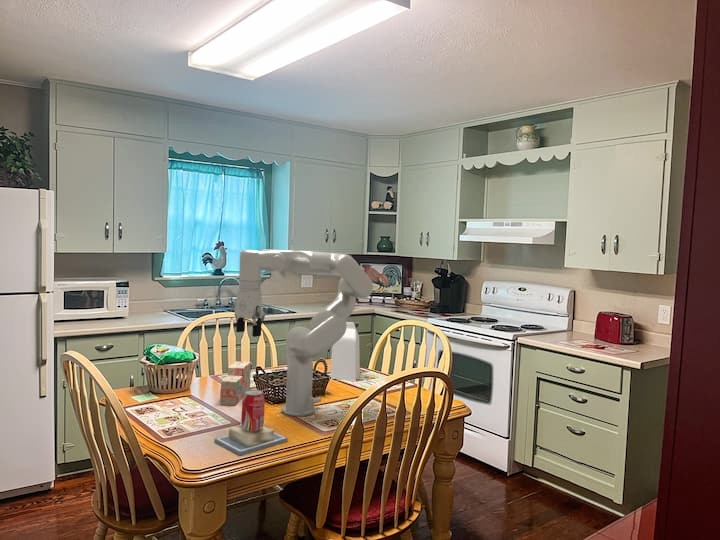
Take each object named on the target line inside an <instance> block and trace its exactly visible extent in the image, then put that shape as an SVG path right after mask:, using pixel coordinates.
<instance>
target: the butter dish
mask: <svg viewBox="0 0 720 540" xmlns="http://www.w3.org/2000/svg"><path fill="white" fill-rule="evenodd" d="M288 440H289V439H288V437H286V436H283V435H281V434H279V433H277V432H275V430H274V429H273V428H270V427H268V426H266V425H263V428H262V429H260V430H259V431H257V432H247V431H245V430H244V429H243V428H242V425H237V426H233V427H230V428H228V435H224V436H220V437H217V438H214V440H213V442H214V443H215V444H218V445H219V446H222V447H223V448H224V449H227V450H228V451H230V452H232V453H234V454H236V455H238V456H244V455H247V454H250V453H254V452H257V451H261V450H263V449H266V448H269V447H274V446H276V445H279V444H282V443H283V444H284V443H286V442H289V441H288Z"/></svg>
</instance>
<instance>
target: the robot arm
mask: <svg viewBox="0 0 720 540" xmlns="http://www.w3.org/2000/svg"><path fill="white" fill-rule="evenodd" d="M239 253H240V254H239V272H238V273H239V275H238V288H237V292H236V299H235V306H234V307H233V310H234V316H235V321H236V322H235V324H236V326H235V327H236V328H235V330H236V333H244V332H245V329H246V320H252V323H253V325H252V333H251V335H252V337H254V338H255V337H261V336H262V325H264V324H263V323H264V321H265V317H266V313H265V311H264V310H263V301H262V300H263V297H262V290H261V289H262V271H268V272H279V271H286V272H292V273H297V274H302V275H318V276H319V275H320V276H321V275H322V276H335V277H341V278H340V280H339V281H338V286H337V287H338V290H337V291H338V292H337V296H336V297H335V298H334V300H332V301H331V302H330V303H329V304H328V305H327V306H325V307H324V308H322V309H320V310H319V311H318V312H317V313H316V314H315V315H313V316H312V318H311V319H310V328H307V327H304V326H302V325H301V326H295V327H293V328H291V329H290V330H289V331H288V332H287V335H286V337H285V347H286V356H287V357H286V359H287V362H286V363H287V364H286V365H287V367H286V386H285V387H286V392H285V404H284V405H282V407H281V412H282V413H283V414H285V415H287V416H292V417H305V416H306V417H307V416H310V415H313V414H314V413H315V412H316V407H315V404H317V403H321V402H322V398H321V397H319V396H317V397H314V396H313V377H314V376H313V373H314V372H313V371H314V360H313V359H314V358H316V357H318V356H321V355H322V354H323V353H324V352H326V351H327V350H328V349H330V348H332V346H333V344H335V343H336V342H337V341H338V340H340V339H341V338H342V337H343V335H344V334H345V332H346V328H347V323H346V322H347V319H348V318H349V317H350V316H351V315H352V313H354V310H355V306H356V301H357V299H366V298H368V297H369V296H371V294H372V292H373V291H374V285H373V281H372V279H371V278H370V277H369V275H368V274H367V273H366V272H365V270H364V269H363V267H361V266H360V264H358V262H357V261H356V260H355V259H354V257H352V256H351V255H350V254H347V253H337V252H326V251H312V250H282V249H267V248H263V249H260V250H258V249H257V250H256V249H242V250H241V251H240V252H239ZM245 319H246V320H245Z"/></svg>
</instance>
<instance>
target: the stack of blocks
mask: <svg viewBox="0 0 720 540" xmlns="http://www.w3.org/2000/svg"><path fill="white" fill-rule="evenodd" d="M251 364H252V362H251V361H245V360H244V361H243V360H242V361H241V360H240V361H239V360H236V361H234V362H233V363H232V364H231V365H229V366H228V368H227V375H226V376H225V377H223V379H222V380H221V381H220V395H219V396H220V399H219V404H220V405H222V404H223V406H224V405H225V406H237V404H238V403H240V402H241V401H242V398H243V396H244V394H245V393H244V392H245V391H246V390H251V374H252V373H251V372H252V371H251V369H252V365H251Z"/></svg>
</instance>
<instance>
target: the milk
mask: <svg viewBox="0 0 720 540" xmlns="http://www.w3.org/2000/svg"><path fill="white" fill-rule="evenodd" d="M346 323H347V328H346V332H345V334H344V335H343V337H342V338H341V339H340V340H338V341H337V342H336V343H335V344H333V345H332V346H331V359H330V369H329V378H330V377H331V379H338V380H337V381H339V380H354V381H355V380H356V379H357V378H358V379H359V377H360V376H359V375H360V374H361V373H360V369H361V368H360V367H361V365H360V362H361V361H360V355H361V354H360V334H359V333H358V330H357V328H356V324H355V322H353V321H352V322H351V321H350V322H349V321H346ZM358 376H359V377H358ZM358 379H357V380H358ZM357 380H356V381H357Z"/></svg>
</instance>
